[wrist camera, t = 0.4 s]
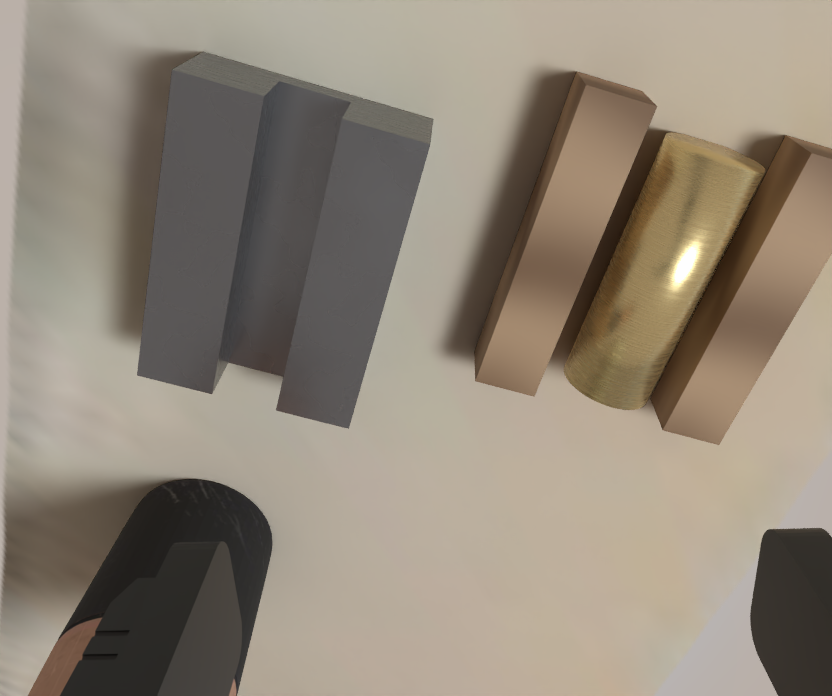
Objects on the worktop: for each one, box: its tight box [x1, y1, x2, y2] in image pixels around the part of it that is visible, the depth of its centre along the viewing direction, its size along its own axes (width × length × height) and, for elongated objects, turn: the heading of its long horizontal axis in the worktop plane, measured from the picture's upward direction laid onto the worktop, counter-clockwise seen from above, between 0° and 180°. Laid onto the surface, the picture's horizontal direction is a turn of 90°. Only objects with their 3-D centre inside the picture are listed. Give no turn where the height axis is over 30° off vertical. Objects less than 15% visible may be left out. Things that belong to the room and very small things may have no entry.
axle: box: [564, 133, 765, 410], centre depth 30 cm, size 10×4×4 cm, turn 165°
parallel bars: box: [474, 71, 832, 445], centre depth 30 cm, size 12×11×2 cm
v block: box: [137, 52, 433, 429], centre depth 30 cm, size 12×9×4 cm
